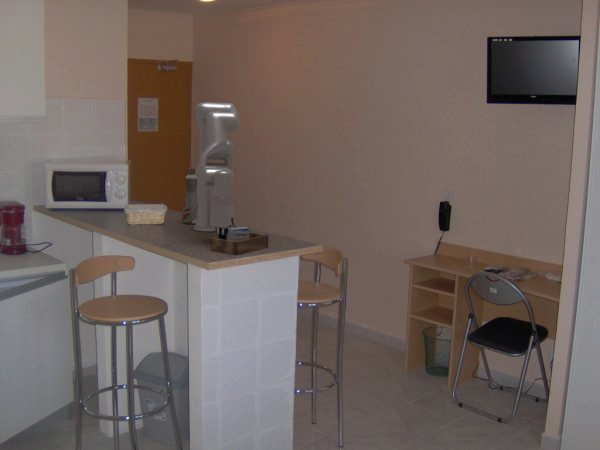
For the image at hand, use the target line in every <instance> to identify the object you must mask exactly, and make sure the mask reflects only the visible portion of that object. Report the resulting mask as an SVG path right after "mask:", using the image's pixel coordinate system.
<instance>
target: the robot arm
mask: <svg viewBox="0 0 600 450" xmlns="http://www.w3.org/2000/svg"><path fill="white" fill-rule="evenodd" d="M195 117H196V120H197V123H198V127H199V155H200V157H199V159H198V164H197V166H196V167H195V175H196V177H197V203H198V210H197V219H194V220H193V221H192V223H194V224H193V225H195V226H193V231H197V232H204V233H205V232H208V233H209V232H211V233H212V232H216V233H217V236H218V237H217V239H223V240H227V235H228V228H235V220H236V219H235V218H236V217H235V209H234V208H235V207H234V204H233V183H234V173H235V145H234V143H233V141H232V140H231V139H228V134H227V132H237V131H239V129H240V123H241V122H240V116H239V113H238V111H237V108H236V106H235V105H234V104H233V103H231V102H215V101H214V102H212V101H211V102H210V101H209V102H208V101H205V102H200V103H197V104H196V106H195ZM207 160H209V161H210V160H212V161H213V160H214V161H213V162H212V161H211V162H208V161H207ZM216 160H217V161H222V160H223V162H215V161H216Z"/></svg>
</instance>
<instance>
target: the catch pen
mask: <svg viewBox="0 0 600 450" xmlns="http://www.w3.org/2000/svg"><path fill="white" fill-rule="evenodd" d="M209 246H210V251H212V250H214V251H213V252H217V251H218V252H219V253H225V254H228V253H229V255H233V256H234V255H235V256H236V255H237V256H238V255H240V254H245V253H249V252H253V251H256V250H262V249H265V248H269V235H268V234H262V233H256V232H250V231H249V239H245V240H241V241H236V242H235V241H229V240H228V239H226V240H223V239H218V237H217V238H216V237H211V238H210V245H209Z"/></svg>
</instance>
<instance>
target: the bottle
mask: <svg viewBox="0 0 600 450" xmlns="http://www.w3.org/2000/svg"><path fill="white" fill-rule="evenodd" d="M187 169H188V174H187V175H185V178H184V181H185V188H186V190H185V197H184V202H183V207H182V211H181V213H182V214H181V221H180V222H182V224H185V225H195V224H194V223H192V221H193V220H194V219H197V210H198V196H197V188H198V186H197V177H196V167H194V166H191V167H188V168H187Z"/></svg>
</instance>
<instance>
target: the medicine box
mask: <svg viewBox="0 0 600 450" xmlns="http://www.w3.org/2000/svg"><path fill="white" fill-rule="evenodd" d="M249 232H250V227H247V226H238V227H233V228H228V234H227V240H229V241H235V242H236V241H241V240H245V239H249Z"/></svg>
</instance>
